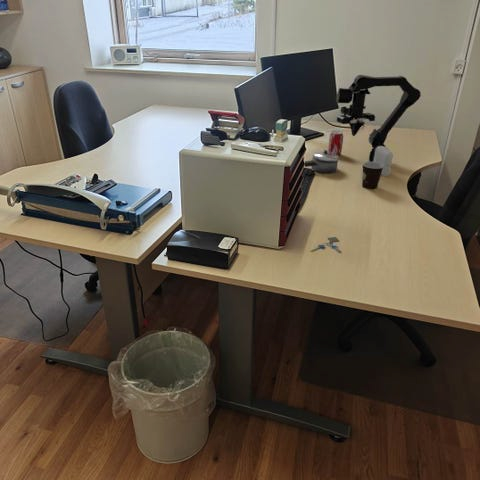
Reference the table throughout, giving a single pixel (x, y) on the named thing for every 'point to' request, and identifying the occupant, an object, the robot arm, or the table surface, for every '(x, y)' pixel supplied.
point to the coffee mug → (371, 174)
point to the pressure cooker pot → (322, 166)
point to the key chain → (332, 239)
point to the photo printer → (383, 159)
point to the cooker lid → (325, 156)
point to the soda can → (335, 142)
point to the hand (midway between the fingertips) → (353, 135)
